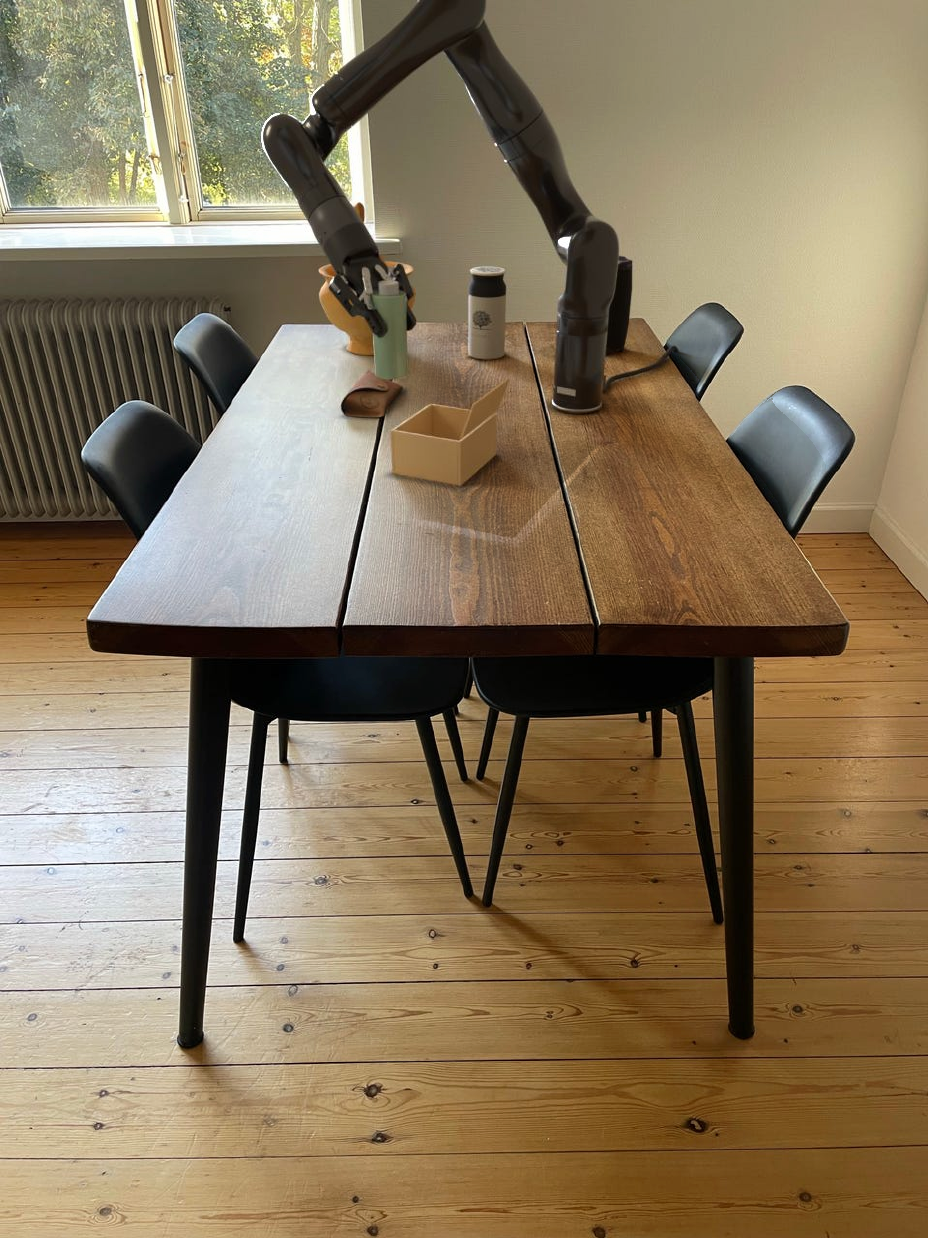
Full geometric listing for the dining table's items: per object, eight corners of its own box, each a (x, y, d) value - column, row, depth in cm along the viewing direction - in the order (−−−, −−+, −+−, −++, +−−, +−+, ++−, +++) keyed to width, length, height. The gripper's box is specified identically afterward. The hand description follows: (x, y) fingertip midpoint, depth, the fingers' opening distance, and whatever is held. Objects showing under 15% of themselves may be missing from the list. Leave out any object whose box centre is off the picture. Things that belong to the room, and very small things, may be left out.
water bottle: (384, 367, 149) (381, 277, 141) (413, 372, 147) (411, 280, 139) (369, 376, 145) (364, 284, 137) (398, 381, 143) (395, 287, 135)
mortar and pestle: (414, 362, 199) (410, 211, 183) (316, 361, 199) (304, 211, 184) (419, 336, 217) (416, 197, 201) (330, 335, 217) (319, 196, 201)
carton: (431, 445, 157) (430, 403, 153) (495, 457, 153) (496, 413, 149) (392, 475, 147) (390, 430, 143) (460, 488, 142) (460, 442, 138)
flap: (508, 377, 145) (510, 378, 145) (496, 409, 149) (497, 410, 149) (472, 403, 134) (474, 404, 134) (460, 437, 138) (461, 438, 138)
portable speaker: (583, 354, 205) (589, 261, 194) (592, 343, 212) (598, 253, 202) (622, 357, 202) (630, 263, 192) (629, 346, 210) (638, 255, 200)
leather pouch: (386, 415, 168) (366, 384, 166) (355, 433, 171) (335, 402, 168) (405, 385, 184) (387, 356, 181) (376, 401, 186) (358, 373, 184)
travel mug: (481, 348, 208) (483, 264, 199) (511, 354, 204) (513, 268, 195) (461, 356, 203) (461, 270, 193) (491, 362, 199) (492, 275, 189)
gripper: (315, 225, 134) (373, 325, 134) (389, 215, 143) (443, 308, 142) (296, 259, 140) (351, 354, 140) (368, 246, 149) (420, 336, 148)
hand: (397, 330), depth 141 cm, fingers closed on water bottle, 5 cm apart
